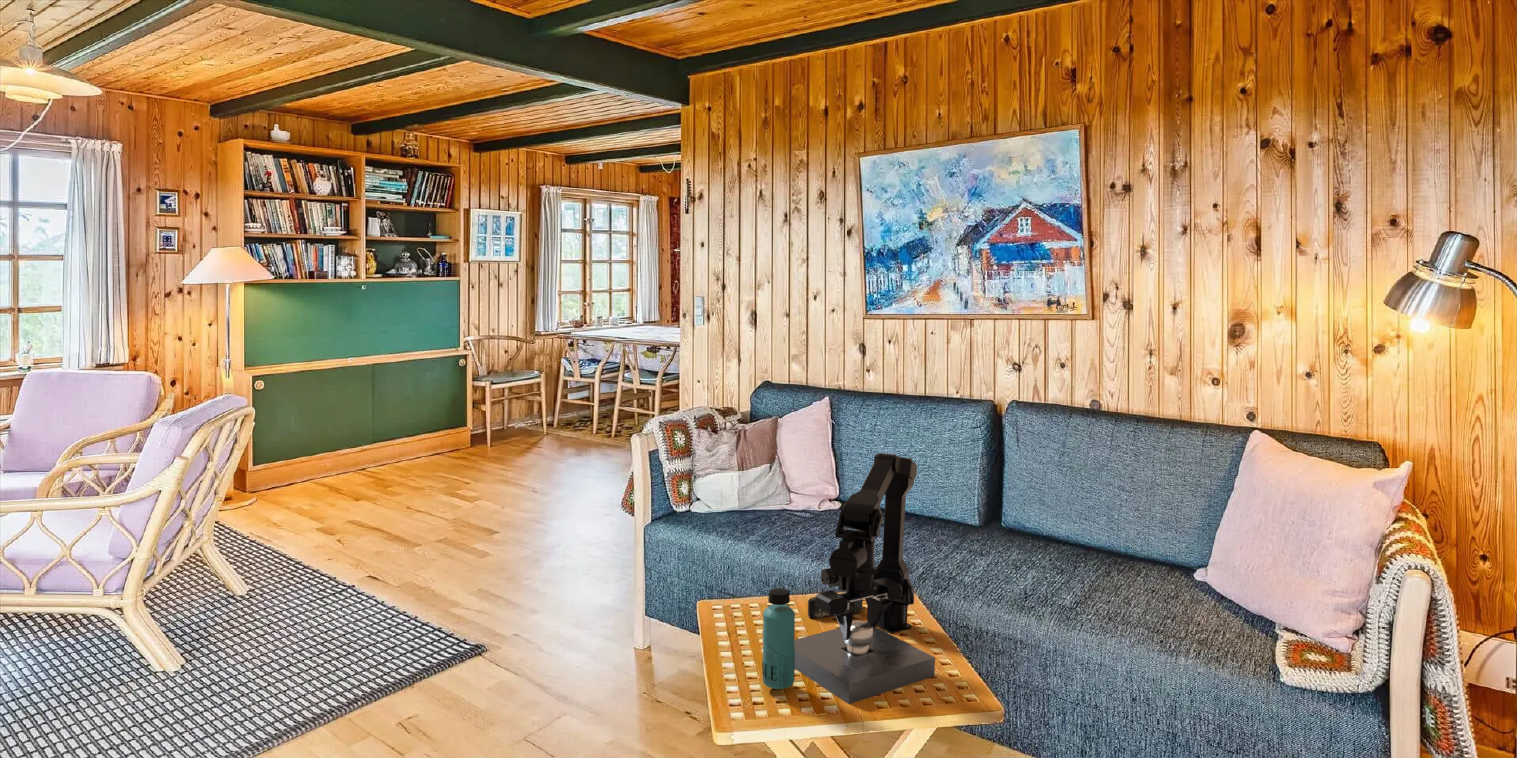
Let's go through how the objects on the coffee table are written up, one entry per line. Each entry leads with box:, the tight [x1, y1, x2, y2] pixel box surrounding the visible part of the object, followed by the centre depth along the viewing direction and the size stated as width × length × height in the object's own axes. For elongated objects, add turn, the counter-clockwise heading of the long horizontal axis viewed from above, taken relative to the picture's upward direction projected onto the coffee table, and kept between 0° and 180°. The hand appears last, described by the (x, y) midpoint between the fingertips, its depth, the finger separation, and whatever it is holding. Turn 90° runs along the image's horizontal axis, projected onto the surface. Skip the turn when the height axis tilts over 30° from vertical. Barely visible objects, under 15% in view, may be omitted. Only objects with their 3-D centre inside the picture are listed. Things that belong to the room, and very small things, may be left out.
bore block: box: [794, 620, 936, 705], centre depth 180 cm, size 22×22×4 cm
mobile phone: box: [807, 592, 867, 619], centre depth 209 cm, size 5×3×15 cm
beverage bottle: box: [761, 587, 796, 690], centre depth 170 cm, size 6×7×20 cm
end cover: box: [843, 620, 873, 657], centre depth 180 cm, size 6×6×7 cm
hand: (858, 636), depth 180 cm, fingers closed on end cover, 6 cm apart
